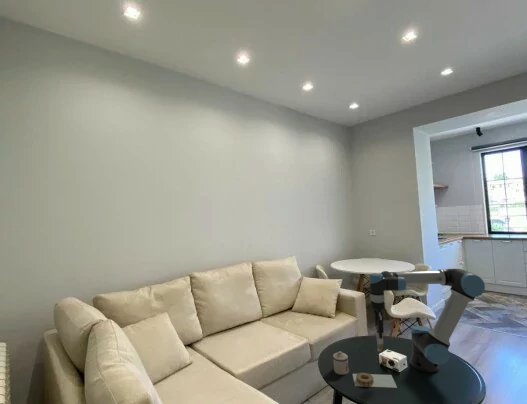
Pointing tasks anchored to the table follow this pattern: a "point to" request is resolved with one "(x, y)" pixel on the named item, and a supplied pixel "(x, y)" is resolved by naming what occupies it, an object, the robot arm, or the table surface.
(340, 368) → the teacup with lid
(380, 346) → the birch dowel
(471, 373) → the table surface
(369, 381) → the wooden ring
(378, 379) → the felt mat
